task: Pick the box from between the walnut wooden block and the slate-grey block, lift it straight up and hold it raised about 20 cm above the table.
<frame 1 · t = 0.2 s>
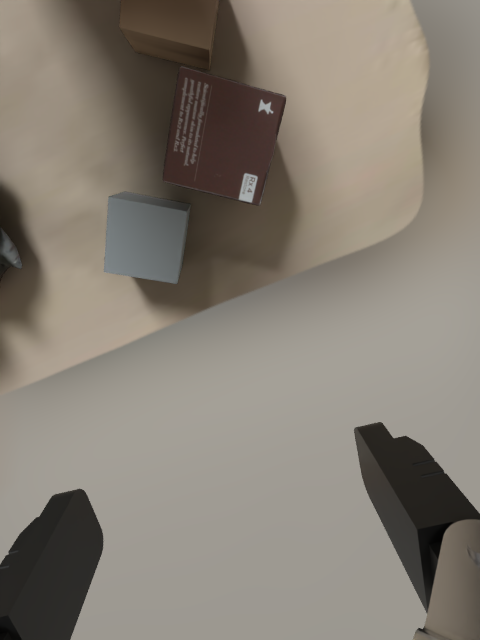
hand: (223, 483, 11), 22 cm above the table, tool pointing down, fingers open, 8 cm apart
walnut block: (178, 17, 25), on the table
box: (219, 145, 28), on the table
grey block: (154, 230, 30), on the table
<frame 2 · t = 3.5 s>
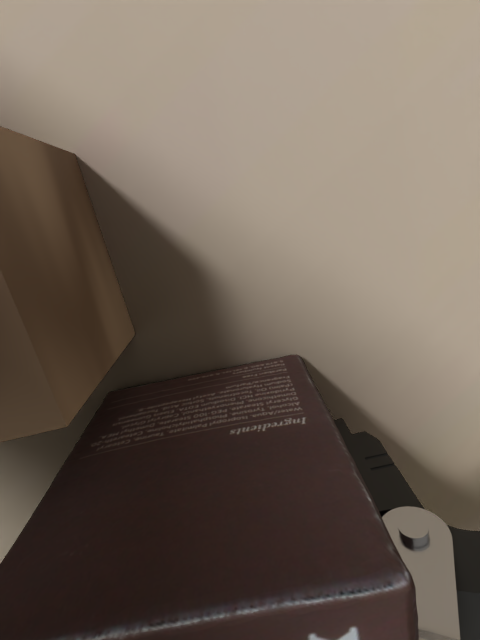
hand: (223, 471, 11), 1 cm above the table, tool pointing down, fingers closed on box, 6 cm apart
walnut block: (21, 271, 10), on the table
box: (223, 447, 12), on the table, touching gripper
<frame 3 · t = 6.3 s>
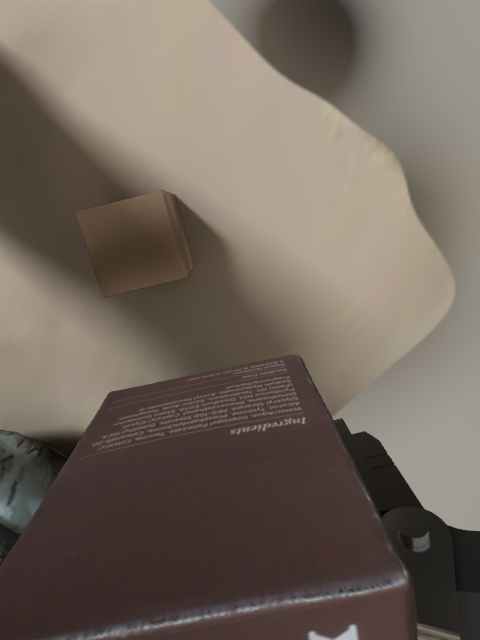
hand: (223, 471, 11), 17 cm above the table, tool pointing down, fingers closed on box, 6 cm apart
walnut block: (150, 240, 26), on the table
grey-blue rounded figure: (46, 491, 32), on the table
box: (224, 447, 12), point 16 cm above the table, touching gripper
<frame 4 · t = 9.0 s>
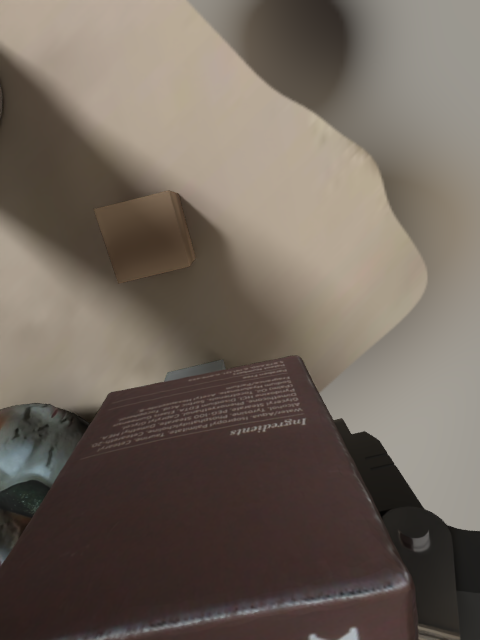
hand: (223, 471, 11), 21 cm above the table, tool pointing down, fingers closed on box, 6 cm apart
walnut block: (156, 234, 30), on the table
grey-blue rounded figure: (73, 462, 35), on the table
box: (224, 448, 12), point 20 cm above the table, touching gripper
grey block: (202, 390, 33), on the table
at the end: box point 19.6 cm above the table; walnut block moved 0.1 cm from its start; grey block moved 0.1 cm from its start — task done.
